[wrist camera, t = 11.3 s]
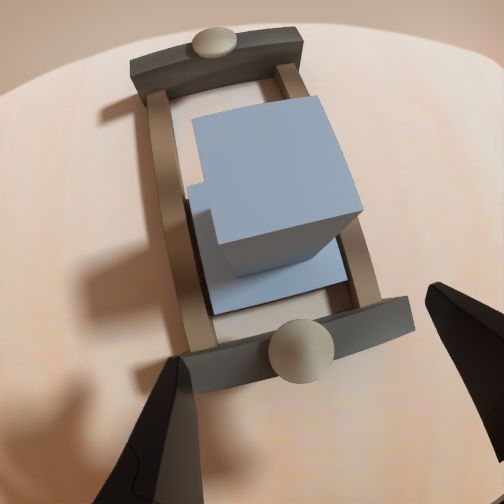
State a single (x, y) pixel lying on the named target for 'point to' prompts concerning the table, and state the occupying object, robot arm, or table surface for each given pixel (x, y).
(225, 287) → the carriage
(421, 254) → the table surface
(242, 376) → the track
